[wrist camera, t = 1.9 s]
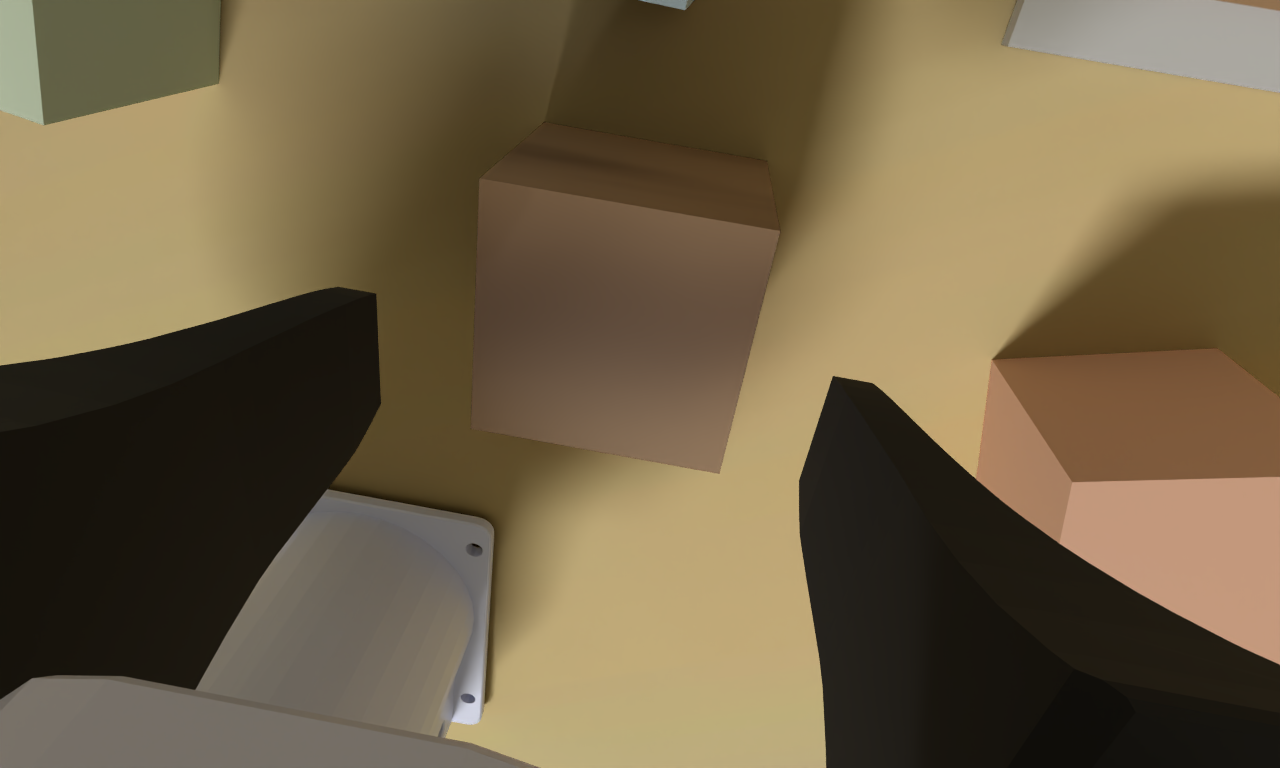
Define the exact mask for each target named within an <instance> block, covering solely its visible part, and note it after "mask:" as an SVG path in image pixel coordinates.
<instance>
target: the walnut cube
mask: <svg viewBox="0 0 1280 768" xmlns="http://www.w3.org/2000/svg"><path fill="white" fill-rule="evenodd" d="M779 235H780V227H779V222H778V216H777V211H776V206H775V201H774V195H773V190H772V185H771V180H770V174H769V169H768V164H767V161H764V160H759V159H753V158H747V157H741V156H736V155H730V154H724V153H718V152H713V151H707V150H701V149H695V148H690V147H684V146H678V145H672V144H667V143H661V142H655V141H649V140H644V139H638V138H632V137H626V136H621V135H615V134H609V133H603V132H598V131H592V130H586V129H580V128H575V127H569V126H563V125H557V124H552V123H546V122H544V123H543V124H542V125H540V126H539V127H538V128H537V129H536V130H535V131H534V132H532V133H531V134H530V135H529V136H528V137H527V138H525V139H524V140H523V141H522V142H521V143H520V144H518V145H517V146H516V147H515V148H514V149H513V150H512V151H510V152H509V153H508V154H507V155H506V156H505V157H503V158H502V159H501V160H500V161H499V162H498V163H496V164H495V165H494V166H493V167H492V168H491V169H490V170H488V171H487V172H486V173H485V174H484V175H483V176H481V177H480V178H479V201H478V230H477V259H476V289H475V318H474V347H473V376H472V405H471V429H475V430H481V431H487V432H492V433H498V434H503V435H509V436H514V437H520V438H525V439H531V440H536V441H542V442H547V443H553V444H558V445H564V446H569V447H575V448H580V449H586V450H591V451H597V452H602V453H608V454H613V455H619V456H624V457H630V458H635V459H641V460H646V461H652V462H657V463H663V464H668V465H674V466H679V467H685V468H690V469H696V470H701V471H707V472H712V473H718V474H719V473H720V470H721V466H722V462H723V458H724V454H725V450H726V446H727V442H728V438H729V434H730V430H731V426H732V422H733V418H734V414H735V410H736V406H737V402H738V398H739V394H740V390H741V386H742V382H743V378H744V374H745V370H746V366H747V362H748V358H749V354H750V350H751V346H752V342H753V338H754V334H755V330H756V326H757V322H758V318H759V314H760V310H761V306H762V302H763V298H764V294H765V290H766V286H767V282H768V278H769V274H770V270H771V266H772V262H773V258H774V254H775V250H776V246H777V243H778V239H779Z"/></svg>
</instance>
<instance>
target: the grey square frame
mask: <svg viewBox="0 0 1280 768" xmlns="http://www.w3.org/2000/svg"><path fill="white" fill-rule="evenodd" d="M1001 44H1002V45H1005V46H1008V47H1014V48H1020V49H1026V50H1032V51H1038V52H1044V53H1050V54H1055V55H1061V56H1067V57H1073V58H1079V59H1085V60H1091V61H1096V62H1102V63H1108V64H1114V65H1120V66H1126V67H1132V68H1138V69H1143V70H1149V71H1155V72H1161V73H1167V74H1173V75H1179V76H1185V77H1190V78H1196V79H1202V80H1208V81H1214V82H1220V83H1226V84H1232V85H1237V86H1243V87H1249V88H1255V89H1261V90H1267V91H1273V92H1278V93H1280V0H1017V2H1016V5H1015V7H1014V10H1013V13H1012V16H1011V19H1010V21H1009V24H1008V27H1007V30H1006V32H1005V35H1004V38H1003V41H1002V43H1001Z"/></svg>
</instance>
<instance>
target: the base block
mask: <svg viewBox="0 0 1280 768" xmlns="http://www.w3.org/2000/svg"><path fill="white" fill-rule="evenodd" d="M640 1H645V2H649V3H654V4H659V5H663V6H668V7H673V8H677V9H682V10H686V9H687V8H688V7H689V6H690V5H691V3H692V2H693V1H694V0H640Z"/></svg>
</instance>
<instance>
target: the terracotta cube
mask: <svg viewBox="0 0 1280 768" xmlns="http://www.w3.org/2000/svg"><path fill="white" fill-rule="evenodd" d="M976 480H978V481H979V482H980V483H981V484H982V485H984V486H985V487H986V488H987V489H988V490H989V491H991V492H992V493H993V494H994V495H995V496H997V497H998V498H999V499H1000V500H1001V501H1003V502H1004V503H1005V504H1006V505H1008V506H1009V507H1010V508H1012V509H1013V510H1014V511H1015V512H1017V513H1018V514H1019V515H1021V516H1022V517H1023V518H1025V519H1026V520H1028V521H1029V522H1030V523H1032V524H1033V525H1035V526H1036V527H1037V528H1039V529H1040V530H1041V531H1043V532H1044V533H1046V534H1047V535H1048V536H1050V537H1051V538H1053V539H1054V540H1055V541H1057V542H1058V543H1060V544H1061V545H1062V546H1064V547H1065V548H1067V549H1069V550H1070V551H1072V552H1073V553H1075V554H1076V555H1078V556H1079V557H1081V558H1082V559H1084V560H1085V561H1087V562H1088V563H1090V564H1092V565H1093V566H1095V567H1097V568H1098V569H1100V570H1102V571H1103V572H1105V573H1106V574H1108V575H1110V576H1111V577H1113V578H1115V579H1116V580H1118V581H1120V582H1121V583H1123V584H1124V585H1126V586H1128V587H1129V588H1131V589H1133V590H1134V591H1136V592H1138V593H1140V594H1141V595H1143V596H1145V597H1147V598H1149V599H1150V600H1152V601H1154V602H1156V603H1158V604H1159V605H1161V606H1163V607H1165V608H1167V609H1168V610H1170V611H1172V612H1174V613H1176V614H1178V615H1180V616H1182V617H1183V618H1185V619H1187V620H1189V621H1191V622H1193V623H1195V624H1197V625H1199V626H1201V627H1203V628H1205V629H1207V630H1209V631H1210V632H1212V633H1214V634H1216V635H1218V636H1220V637H1222V638H1224V639H1226V640H1228V641H1230V642H1232V643H1234V644H1236V645H1238V646H1240V647H1242V648H1244V649H1246V650H1248V651H1251V652H1253V653H1255V654H1257V655H1260V656H1262V657H1264V658H1266V659H1268V660H1271V661H1273V662H1275V663H1277V664H1279V665H1280V397H1278V396H1277V395H1276V394H1275V393H1273V392H1272V391H1271V390H1270V389H1268V388H1267V387H1266V386H1265V385H1263V384H1262V383H1261V382H1260V381H1258V380H1257V379H1256V378H1254V377H1253V376H1252V375H1251V374H1249V373H1248V372H1247V371H1246V370H1244V369H1243V368H1242V367H1241V366H1239V365H1238V364H1237V363H1236V362H1234V361H1233V360H1232V359H1231V358H1229V357H1228V356H1227V355H1226V354H1224V353H1223V352H1222V351H1220V350H1219V349H1218V348H1211V349H1191V350H1171V351H1151V352H1131V353H1112V354H1092V355H1072V356H1052V357H1032V358H1012V359H992V362H991V369H990V377H989V384H988V392H987V400H986V407H985V415H984V423H983V430H982V438H981V445H980V453H979V461H978V468H977V476H976Z"/></svg>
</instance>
